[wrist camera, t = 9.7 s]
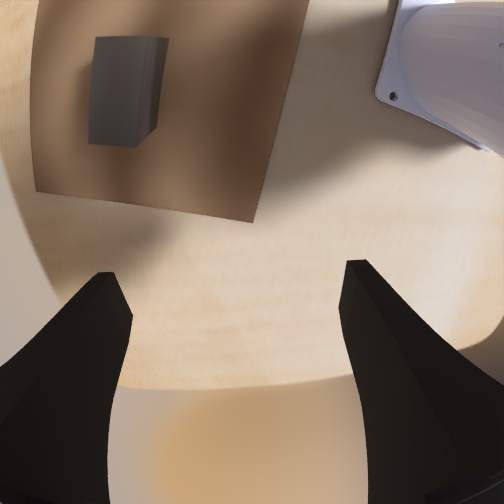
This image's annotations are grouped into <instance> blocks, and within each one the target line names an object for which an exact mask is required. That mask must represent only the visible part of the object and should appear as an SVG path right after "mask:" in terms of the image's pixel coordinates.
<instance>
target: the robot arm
mask: <svg viewBox="0 0 504 504" xmlns="http://www.w3.org/2000/svg"><path fill="white" fill-rule="evenodd" d="M392 92H394V94H395V97H394V99H392V100H390V98H389V95H390V93H392ZM375 96H376V97H377V99H379V100H380V101H382V102H385V103H387V104H390V105H393V106H395V107H398V108H400V109H402V110H405V111H407V112H410V113H412V114H414V115H417V116H419V117H421V118H423V119H425V120H428V121H430V122H432V123H434V124H436V125H438V126H440V127H442V128H444V129H446V130H448V131H450V132H452V133H454V134H456V135H458V136H460V137H462V138H464V139H466V140H468V141H469V142H471V143H473V144H475V145H477V146H478V147H480V148H482V149H484V150H485V151H488V152H489V151H491V150H492V151H494V152H495V153H497V154H498V155H500V156H501V157H503V158H504V2H456V1H454V0H399V3H398V7H397V11H396V15H395V19H394V23H393V27H392V31H391V35H390V39H389V42H388V46H387V50H386V53H385V57H384V60H383V64H382V67H381V71H380V74H379V78H378V81H377V84H376V88H375ZM339 314H340V320H341V326H342V332H343V337H344V341H345V345H346V348H347V352H348V355H349V359H350V362H351V366H352V370H353V373H354V377H355V381H356V384H357V388H358V392H359V395H360V401H361V405H362V411H363V419H364V427H365V436H366V447H367V460H368V461H367V462H368V504H504V385H502V384H501V383H499V382H498V381H496V380H495V379H493V378H492V377H490V376H489V375H487V374H486V373H485V372H483V371H482V370H481V369H479V368H478V367H477V366H475V365H474V364H473V363H471V362H470V361H469V360H468V359H466V358H465V357H464V356H463V355H461V354H460V353H459V352H458V351H457V350H456V349H454V348H453V347H452V346H451V345H450V344H449V343H447V342H446V341H445V340H444V339H443V338H442V337H441V336H440V335H438V334H437V333H436V332H435V331H434V330H433V329H432V328H431V327H430V326H429V325H428V324H427V323H426V322H425V321H424V320H423V319H422V318H421V317H420V316H419V315H418V314H417V313H416V312H415V311H414V310H413V309H412V308H411V307H410V306H409V305H408V304H407V303H406V302H405V301H404V300H403V299H402V298H401V297H400V295H399V294H398V293H397V292H396V291H395V290H394V289H393V288H392V287H391V286H390V285H389V284H388V283H387V281H386V280H385V279H384V278H383V277H382V276H381V275H380V274H379V273H378V272H377V271H376V270H375V268H374V267H373V266H372V265H371V264H370V263H369V262H368V261H367V260H366V259H365V260H349V261H347V263H346V269H345V275H344V281H343V286H342V292H341V297H340V302H339ZM132 319H133V314H132V312H131V310H130V308H129V306H128V304H127V301H126V299H125V297H124V295H123V293H122V290H121V288H120V286H119V283H118V281H117V279H116V276H115V274H114V272H100V273H97V274H96V275H95V276H93V277H92V278H91V279H90V280H89V281H88V282H87V283H86V284H85V285H84V286H83V287H82V288H81V289H80V290H79V291H78V292H77V293H76V294H75V295H74V296H73V297H72V298H71V299H70V300H69V301H68V302H67V303H66V304H65V305H64V307H63V308H62V309H61V310H60V311H59V312H58V313H57V314H56V315H55V316H54V317H53V318H52V319H51V320H50V321H49V322H48V323H47V324H46V325H45V326H44V327H43V328H42V329H41V330H40V331H39V332H38V333H37V334H36V335H35V336H34V337H33V338H32V339H31V340H30V341H29V342H28V343H27V344H26V345H25V346H24V347H23V348H22V349H21V350H20V351H19V352H17V353H16V354H15V355H14V356H13V357H12V358H11V359H10V360H9V361H7V362H6V363H5V364H3V365H2V366H1V367H0V504H110V499H109V488H108V469H107V453H108V432H109V423H110V414H111V408H112V403H113V398H114V394H115V391H116V387H117V383H118V379H119V376H120V372H121V368H122V365H123V361H124V358H125V354H126V351H127V347H128V343H129V338H130V332H131V325H132Z"/></svg>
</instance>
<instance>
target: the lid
mask: <svg viewBox="0 0 504 504" xmlns="http://www.w3.org/2000/svg"><path fill="white" fill-rule="evenodd" d="M308 4H309V0H39V5H38V11H37V17H36V24H35V31H34V39H33V49H32V60H31V77H30V130H31V147H32V159H33V169H34V178H35V186H36V192H44V193H52V194H60V195H68V196H76V197H84V198H91V199H99V200H106V201H113V202H121V203H128V204H135V205H142V206H148V207H155V208H162V209H168V210H175V211H181V212H188V213H194V214H201V215H207V216H213V217H219V218H225V219H231V220H237V221H243V222H249V223H253V221H254V217H255V213H256V209H257V205H258V201H259V197H260V193H261V189H262V185H263V181H264V177H265V173H266V169H267V165H268V161H269V157H270V153H271V149H272V145H273V141H274V137H275V133H276V129H277V125H278V121H279V117H280V113H281V109H282V105H283V101H284V97H285V93H286V89H287V85H288V82H289V78H290V74H291V70H292V66H293V62H294V58H295V54H296V50H297V46H298V43H299V39H300V35H301V31H302V27H303V23H304V19H305V16H306V12H307V8H308Z"/></svg>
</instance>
